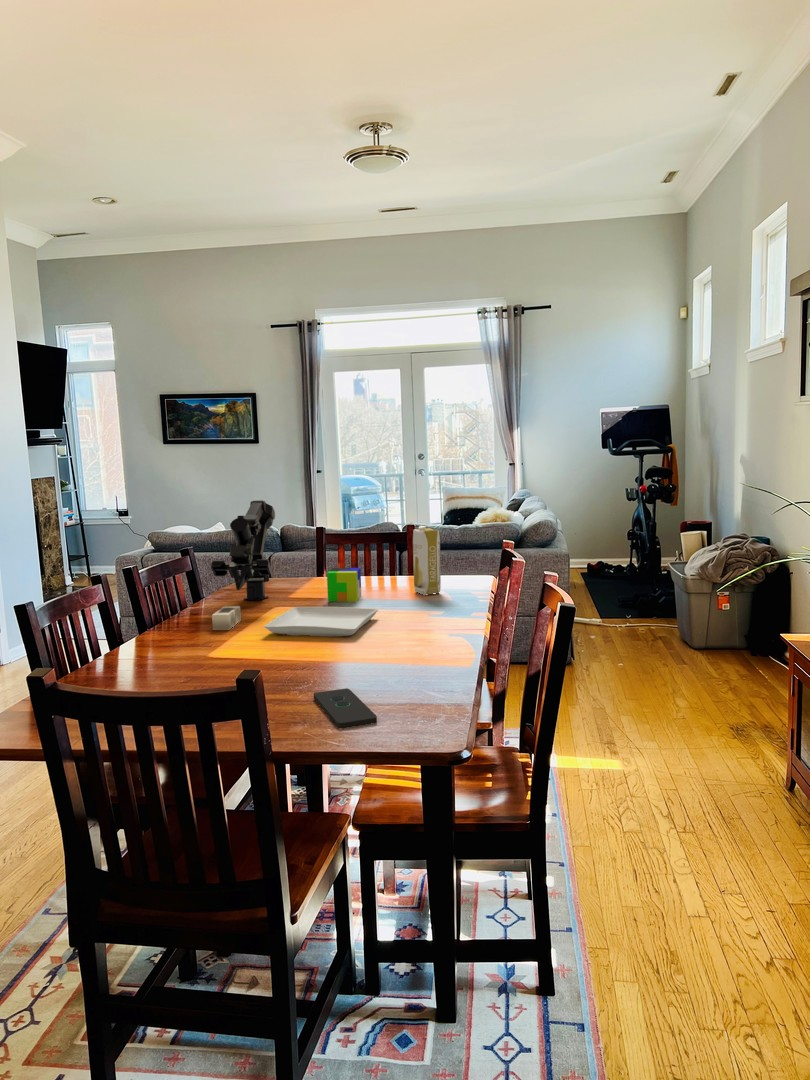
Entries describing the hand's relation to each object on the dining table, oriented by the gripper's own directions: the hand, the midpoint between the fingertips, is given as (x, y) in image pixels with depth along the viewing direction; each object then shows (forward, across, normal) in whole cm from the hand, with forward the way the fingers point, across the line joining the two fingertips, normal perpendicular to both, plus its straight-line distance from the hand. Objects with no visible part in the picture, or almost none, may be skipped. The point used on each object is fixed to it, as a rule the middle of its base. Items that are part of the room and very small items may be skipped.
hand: (238, 589), depth 251 cm
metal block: (+11, 0, -2) cm, 11 cm away
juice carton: (-14, +60, +27) cm, 67 cm away
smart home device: (+69, +43, -59) cm, 101 cm away
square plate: (+19, +30, -7) cm, 36 cm away
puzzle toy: (-10, +32, +22) cm, 40 cm away
